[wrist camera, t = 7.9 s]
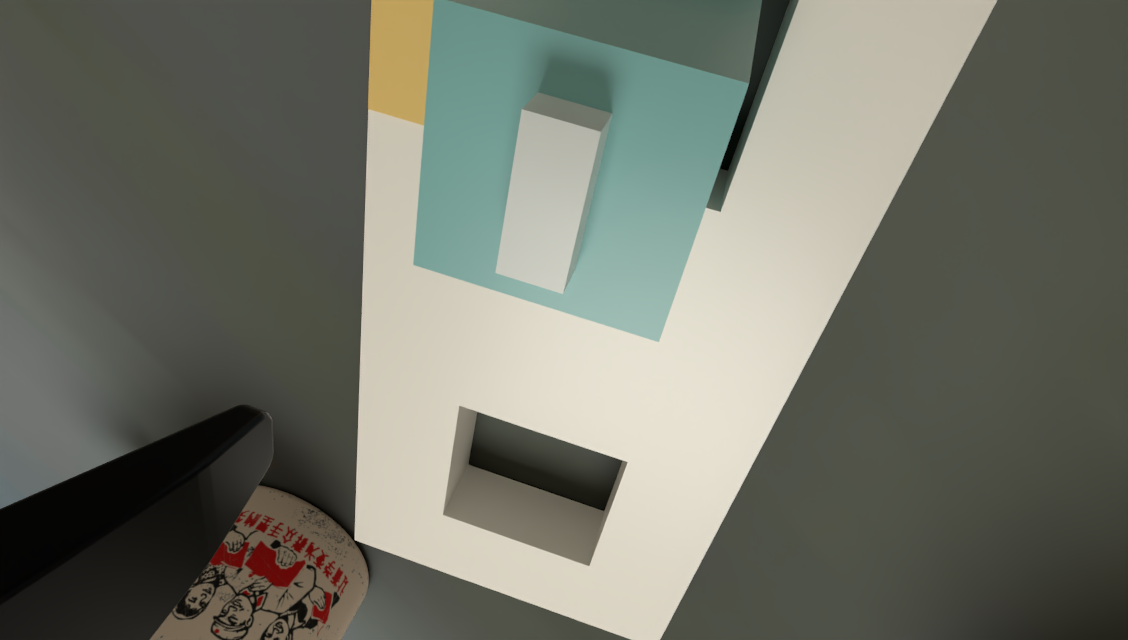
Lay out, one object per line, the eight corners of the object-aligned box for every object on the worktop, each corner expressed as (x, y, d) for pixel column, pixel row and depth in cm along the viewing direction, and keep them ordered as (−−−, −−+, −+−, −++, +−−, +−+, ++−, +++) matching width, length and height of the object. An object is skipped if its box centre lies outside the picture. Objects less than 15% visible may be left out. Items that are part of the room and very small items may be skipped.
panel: (1064, -216, 13) (1117, -225, 11) (664, 590, 28) (654, 651, 26) (442, -360, 14) (381, -394, 12) (383, 491, 29) (352, 542, 27)
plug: (767, -32, 16) (746, 101, 8) (710, 138, 18) (651, 370, 10) (592, -77, 16) (410, 7, 8) (559, 96, 18) (393, 287, 11)
